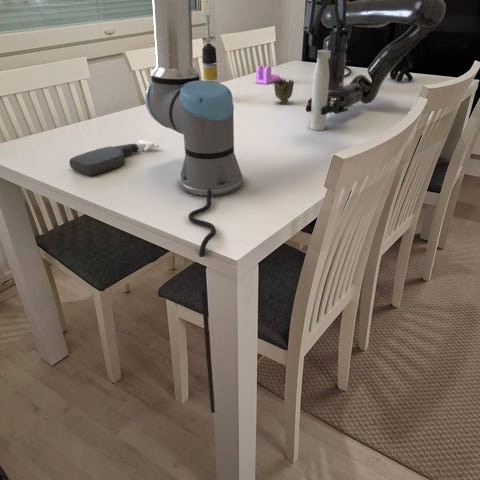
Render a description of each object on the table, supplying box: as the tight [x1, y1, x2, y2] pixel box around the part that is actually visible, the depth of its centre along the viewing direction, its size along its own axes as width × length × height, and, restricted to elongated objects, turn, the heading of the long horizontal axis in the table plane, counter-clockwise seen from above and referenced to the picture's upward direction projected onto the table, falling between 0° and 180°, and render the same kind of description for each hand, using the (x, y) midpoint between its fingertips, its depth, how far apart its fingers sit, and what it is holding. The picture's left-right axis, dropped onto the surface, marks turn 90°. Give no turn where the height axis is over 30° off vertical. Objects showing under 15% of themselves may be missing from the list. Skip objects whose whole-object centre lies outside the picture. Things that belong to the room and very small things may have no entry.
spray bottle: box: [68, 139, 160, 177], centre depth 124 cm, size 3×11×24 cm
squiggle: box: [389, 52, 414, 83], centre depth 198 cm, size 11×10×15 cm
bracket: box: [255, 65, 281, 85], centre depth 202 cm, size 13×6×7 cm, turn 143°
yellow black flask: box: [201, 14, 219, 83], centre depth 171 cm, size 6×6×30 cm
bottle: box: [309, 58, 330, 131], centre depth 140 cm, size 5×5×23 cm
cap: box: [317, 49, 331, 59], centre depth 134 cm, size 4×4×2 cm
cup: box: [273, 78, 295, 105], centre depth 169 cm, size 8×7×8 cm
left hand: (322, 56), depth 134 cm, fingers open, 7 cm apart
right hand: (314, 110), depth 140 cm, fingers closed on bottle, 5 cm apart
